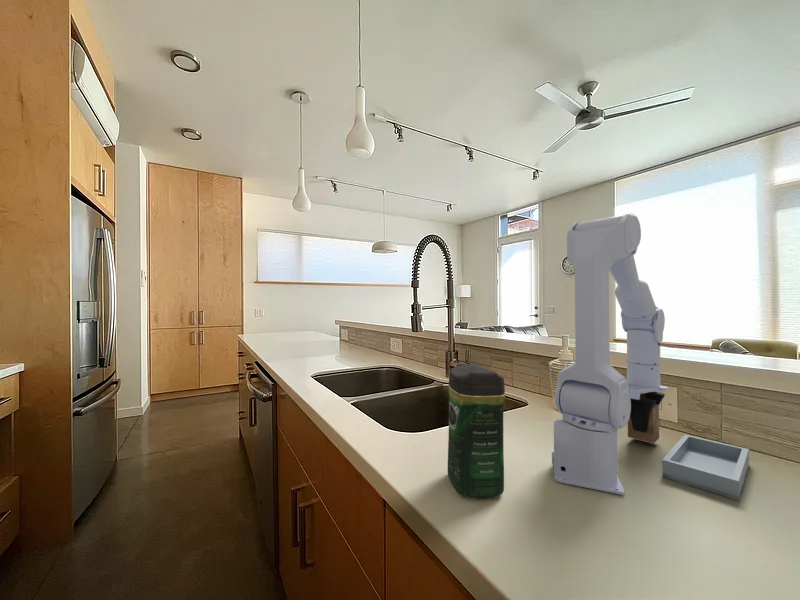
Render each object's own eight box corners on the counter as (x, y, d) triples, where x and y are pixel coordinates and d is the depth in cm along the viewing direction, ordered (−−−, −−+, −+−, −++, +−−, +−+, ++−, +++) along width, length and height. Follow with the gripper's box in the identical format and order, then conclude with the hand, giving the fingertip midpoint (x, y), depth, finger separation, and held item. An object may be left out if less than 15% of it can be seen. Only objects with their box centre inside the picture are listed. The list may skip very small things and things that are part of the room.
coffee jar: (512, 501, 48) (513, 371, 48) (458, 503, 47) (459, 371, 48) (488, 469, 58) (489, 360, 58) (442, 470, 57) (444, 360, 57)
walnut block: (653, 443, 67) (653, 408, 67) (627, 436, 71) (627, 403, 71) (659, 438, 70) (658, 404, 70) (634, 432, 73) (634, 399, 74)
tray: (738, 500, 49) (738, 481, 49) (662, 476, 56) (662, 459, 56) (749, 464, 61) (748, 449, 61) (684, 448, 68) (684, 434, 68)
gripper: (657, 369, 63) (657, 442, 63) (675, 362, 72) (675, 426, 72) (614, 364, 68) (614, 431, 68) (636, 358, 78) (636, 417, 77)
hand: (643, 428), depth 70 cm, fingers closed on walnut block, 4 cm apart
